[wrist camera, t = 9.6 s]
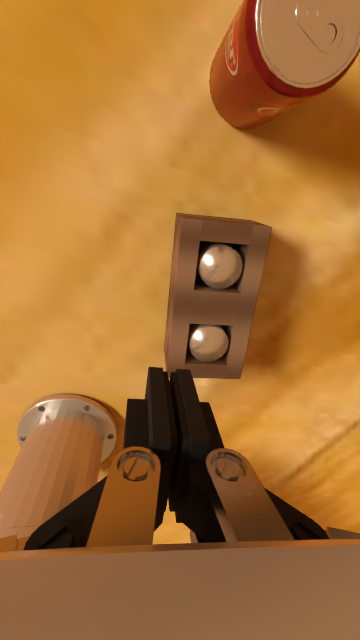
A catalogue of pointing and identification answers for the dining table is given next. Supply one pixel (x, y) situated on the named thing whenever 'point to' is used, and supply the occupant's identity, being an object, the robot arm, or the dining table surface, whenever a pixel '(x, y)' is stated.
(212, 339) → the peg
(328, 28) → the soda can
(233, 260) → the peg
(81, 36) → the dining table surface
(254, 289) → the walnut block
